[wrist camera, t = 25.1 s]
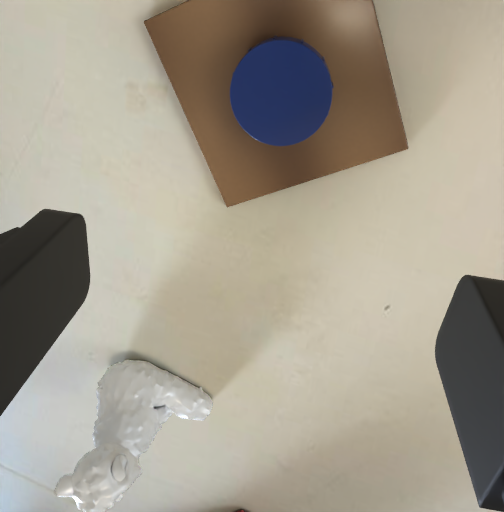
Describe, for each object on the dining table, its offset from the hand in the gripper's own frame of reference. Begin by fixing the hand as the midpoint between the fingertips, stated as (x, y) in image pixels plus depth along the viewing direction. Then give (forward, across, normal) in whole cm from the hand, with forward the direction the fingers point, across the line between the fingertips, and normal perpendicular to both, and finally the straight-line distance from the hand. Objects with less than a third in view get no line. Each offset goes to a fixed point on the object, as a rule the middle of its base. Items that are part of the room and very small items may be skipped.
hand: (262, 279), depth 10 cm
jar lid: (+19, +1, 0) cm, 19 cm away
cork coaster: (+21, +1, 0) cm, 21 cm away
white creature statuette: (+21, +9, +27) cm, 35 cm away
